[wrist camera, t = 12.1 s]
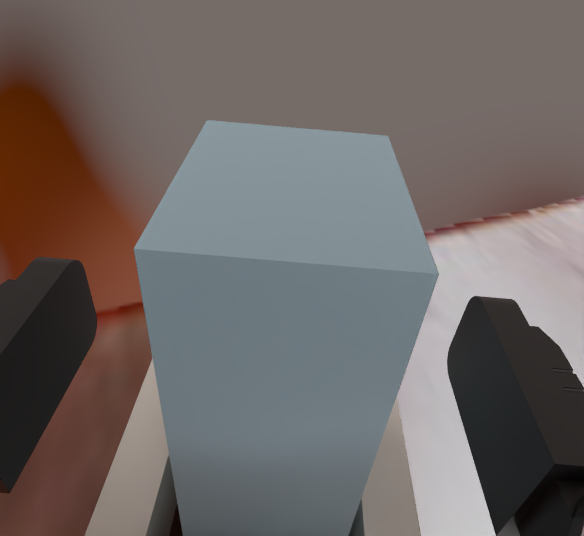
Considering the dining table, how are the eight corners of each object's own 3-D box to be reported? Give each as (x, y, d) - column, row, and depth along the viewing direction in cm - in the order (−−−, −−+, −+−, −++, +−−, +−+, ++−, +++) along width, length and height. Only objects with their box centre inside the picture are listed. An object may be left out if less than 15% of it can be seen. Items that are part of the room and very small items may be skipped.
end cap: (373, 394, 19) (387, 346, 17) (413, 710, 11) (446, 682, 9) (171, 378, 19) (164, 327, 17) (72, 684, 11) (39, 651, 9)
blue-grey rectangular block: (324, 440, 17) (387, 135, 10) (327, 595, 13) (438, 274, 6) (220, 432, 17) (207, 120, 10) (191, 585, 13) (133, 248, 6)
